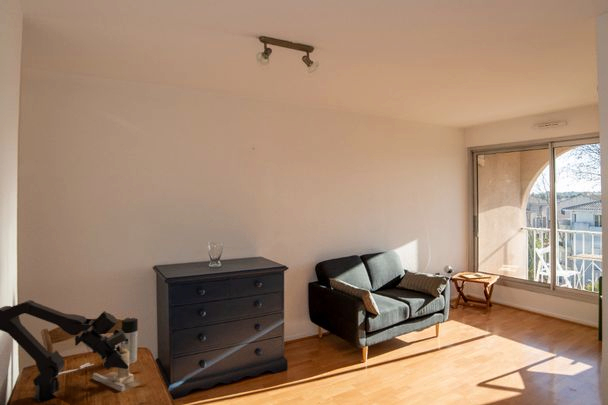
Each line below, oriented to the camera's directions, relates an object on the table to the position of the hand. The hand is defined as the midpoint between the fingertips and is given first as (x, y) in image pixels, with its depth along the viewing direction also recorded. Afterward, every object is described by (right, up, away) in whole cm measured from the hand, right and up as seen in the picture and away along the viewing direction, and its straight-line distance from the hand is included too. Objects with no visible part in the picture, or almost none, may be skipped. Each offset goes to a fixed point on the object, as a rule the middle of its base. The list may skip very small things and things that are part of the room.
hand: (127, 365), depth 153 cm
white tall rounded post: (-1, -6, -1) cm, 6 cm away
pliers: (-28, -8, +12) cm, 32 cm away
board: (-4, -8, +1) cm, 9 cm away
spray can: (-9, -8, +21) cm, 25 cm away
